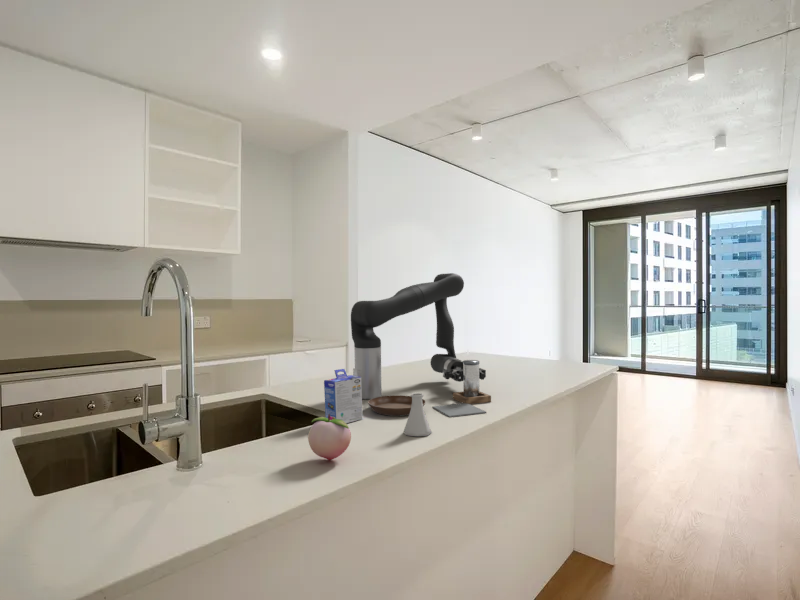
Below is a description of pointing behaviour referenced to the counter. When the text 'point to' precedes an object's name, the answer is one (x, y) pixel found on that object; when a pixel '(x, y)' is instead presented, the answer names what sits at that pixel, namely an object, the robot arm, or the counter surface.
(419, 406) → the flask
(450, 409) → the rubber mat
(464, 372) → the canister
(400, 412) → the plant saucer
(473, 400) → the pocket frame
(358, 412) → the ink cartridge box
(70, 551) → the counter surface
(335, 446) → the decorative fruit
